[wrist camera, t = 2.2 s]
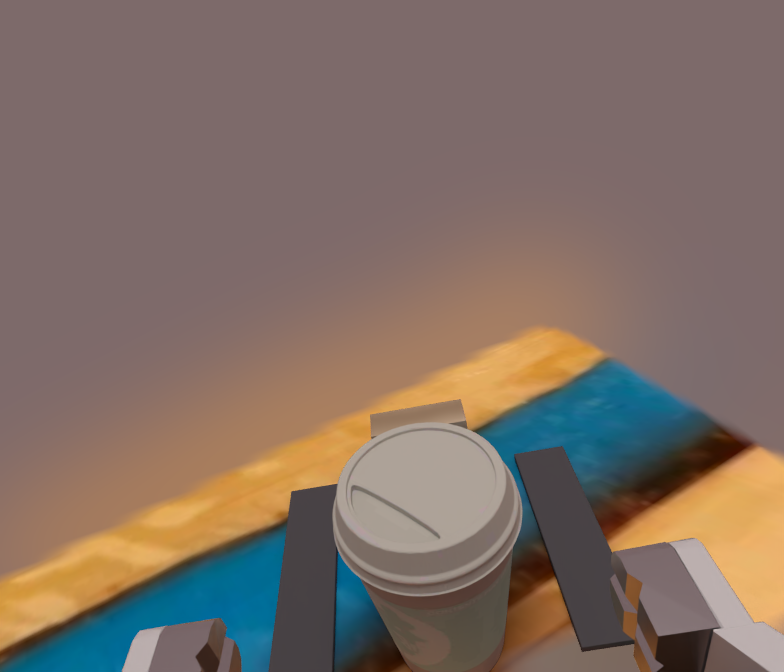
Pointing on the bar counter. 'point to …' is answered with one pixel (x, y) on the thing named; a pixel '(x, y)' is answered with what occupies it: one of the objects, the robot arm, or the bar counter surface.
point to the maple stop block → (419, 416)
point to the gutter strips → (556, 524)
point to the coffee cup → (432, 541)
